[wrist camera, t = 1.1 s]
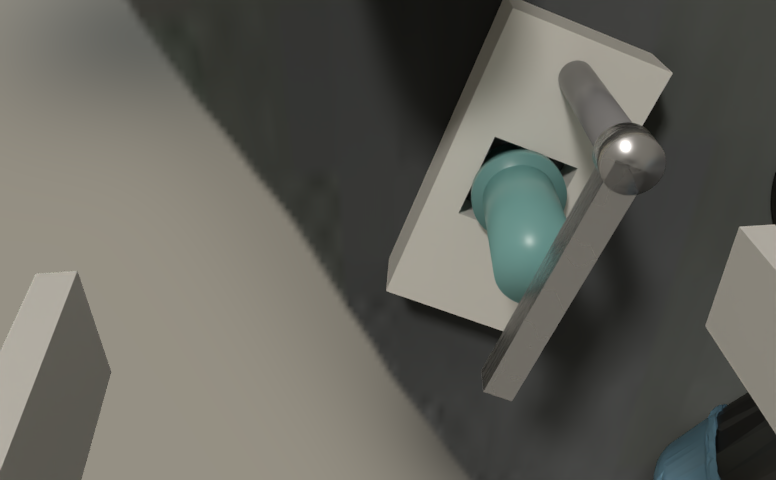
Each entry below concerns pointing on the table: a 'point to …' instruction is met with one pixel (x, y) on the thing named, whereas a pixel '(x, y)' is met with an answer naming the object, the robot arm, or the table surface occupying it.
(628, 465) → the table surface
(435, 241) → the grey block with rod
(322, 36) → the table surface
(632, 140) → the grey square bar
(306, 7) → the table surface
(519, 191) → the plug
